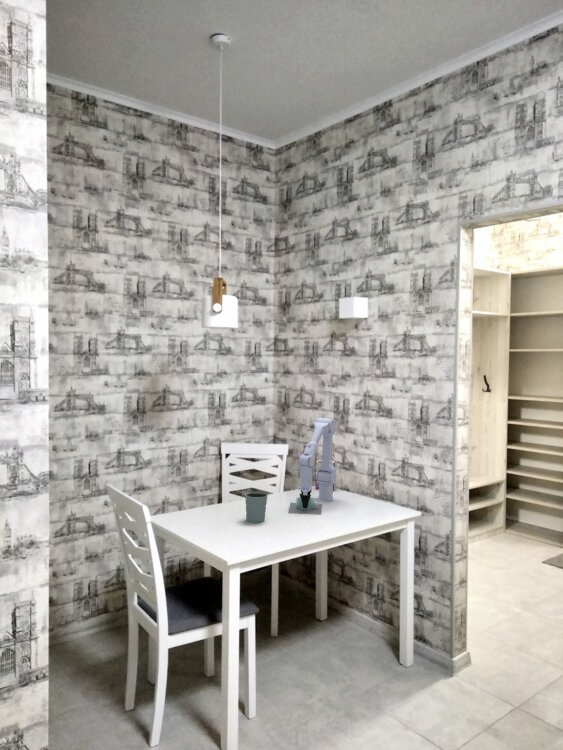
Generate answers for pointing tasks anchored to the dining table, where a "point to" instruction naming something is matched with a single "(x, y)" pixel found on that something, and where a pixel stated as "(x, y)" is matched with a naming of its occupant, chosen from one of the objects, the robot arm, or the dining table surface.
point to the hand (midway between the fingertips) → (305, 506)
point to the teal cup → (255, 507)
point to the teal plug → (310, 504)
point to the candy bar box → (319, 463)
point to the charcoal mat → (304, 510)
